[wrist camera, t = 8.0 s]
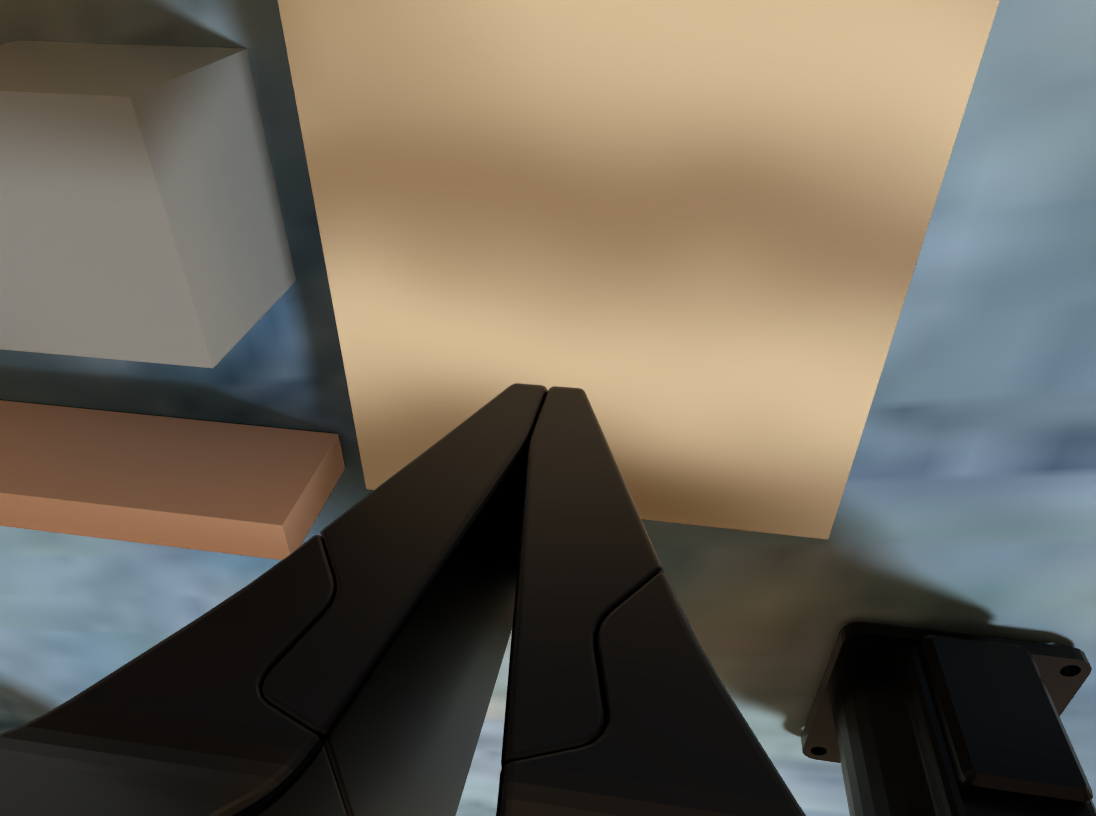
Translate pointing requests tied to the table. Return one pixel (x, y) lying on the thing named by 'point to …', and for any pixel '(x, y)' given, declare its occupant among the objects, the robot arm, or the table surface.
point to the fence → (163, 479)
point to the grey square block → (135, 202)
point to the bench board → (632, 223)
